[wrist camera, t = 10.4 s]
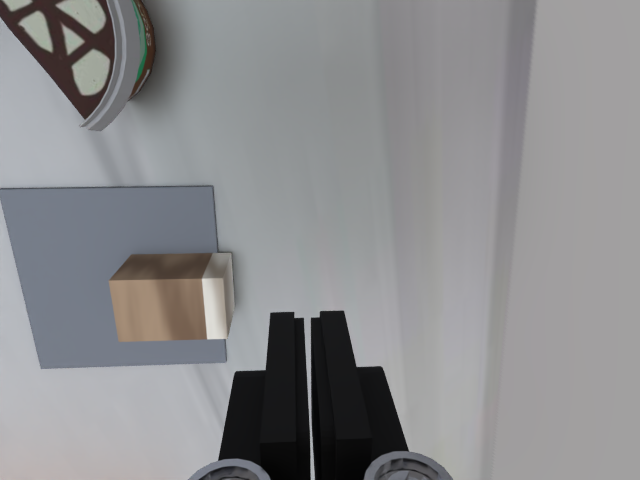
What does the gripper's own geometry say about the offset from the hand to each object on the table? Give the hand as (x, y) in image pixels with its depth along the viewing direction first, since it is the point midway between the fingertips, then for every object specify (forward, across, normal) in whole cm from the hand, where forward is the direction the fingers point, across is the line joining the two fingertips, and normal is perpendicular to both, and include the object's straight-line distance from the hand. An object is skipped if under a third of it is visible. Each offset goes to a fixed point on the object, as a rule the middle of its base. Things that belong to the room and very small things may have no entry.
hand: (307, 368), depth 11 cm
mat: (+27, +14, +10) cm, 32 cm away
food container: (+27, +12, -10) cm, 31 cm away
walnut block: (+24, +5, +10) cm, 27 cm away
